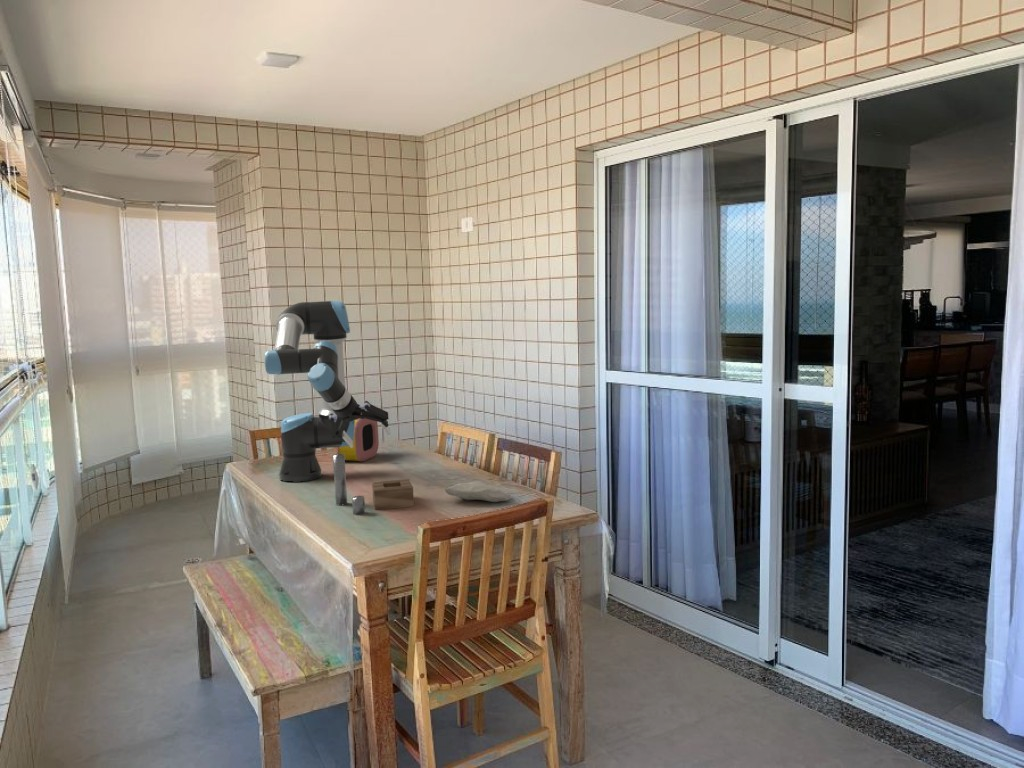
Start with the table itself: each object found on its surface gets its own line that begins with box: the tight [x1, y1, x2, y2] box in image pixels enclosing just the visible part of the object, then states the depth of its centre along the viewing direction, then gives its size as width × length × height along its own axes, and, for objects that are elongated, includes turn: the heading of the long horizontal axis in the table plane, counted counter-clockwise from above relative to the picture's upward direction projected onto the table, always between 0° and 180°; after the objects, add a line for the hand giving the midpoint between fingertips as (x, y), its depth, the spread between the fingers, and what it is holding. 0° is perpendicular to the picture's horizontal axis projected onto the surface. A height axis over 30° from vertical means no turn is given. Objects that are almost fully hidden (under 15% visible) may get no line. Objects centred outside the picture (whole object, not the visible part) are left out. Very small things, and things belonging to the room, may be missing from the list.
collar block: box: [371, 478, 415, 511], centre depth 246 cm, size 12×12×6 cm
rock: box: [444, 480, 512, 503], centre depth 248 cm, size 24×6×20 cm
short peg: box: [351, 495, 366, 516], centre depth 236 cm, size 4×4×5 cm
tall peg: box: [332, 453, 348, 506], centre depth 247 cm, size 4×4×16 cm
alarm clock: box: [335, 412, 380, 462], centre depth 314 cm, size 18×11×19 cm, turn 164°
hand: (370, 438), depth 260 cm, fingers open, 13 cm apart
